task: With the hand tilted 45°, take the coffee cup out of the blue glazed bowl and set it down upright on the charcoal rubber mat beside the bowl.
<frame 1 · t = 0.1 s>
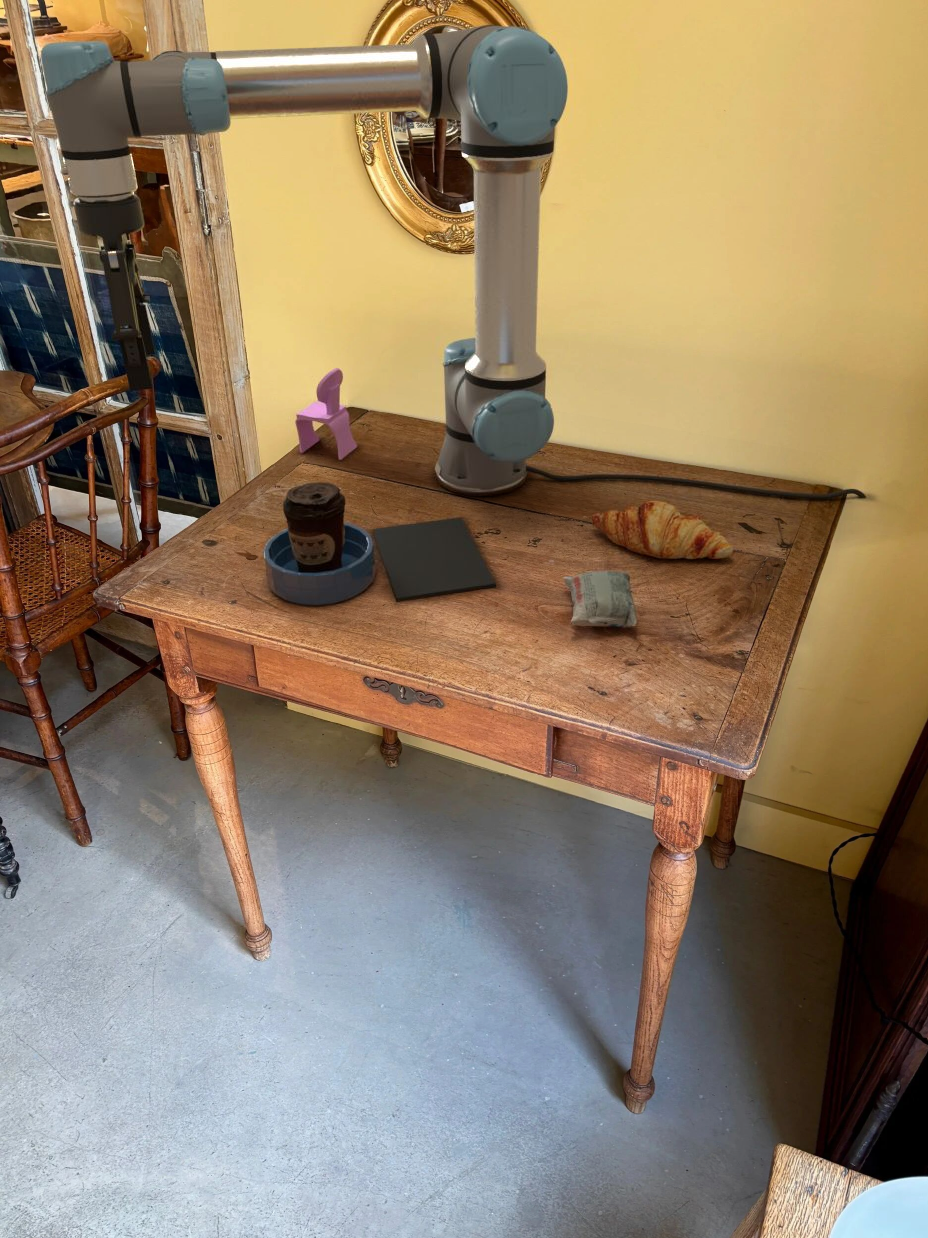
hand: (143, 371, 122), 28 cm above the table, tool pointing down, fingers open, 13 cm apart
packaged food: (596, 615, 124), on the table
coffee cup: (322, 576, 132), resting on bowl
toy chair: (327, 450, 169), on the table
bowl: (322, 577, 132), on the table
croissant: (658, 548, 138), on the table
mat: (431, 558, 136), on the table
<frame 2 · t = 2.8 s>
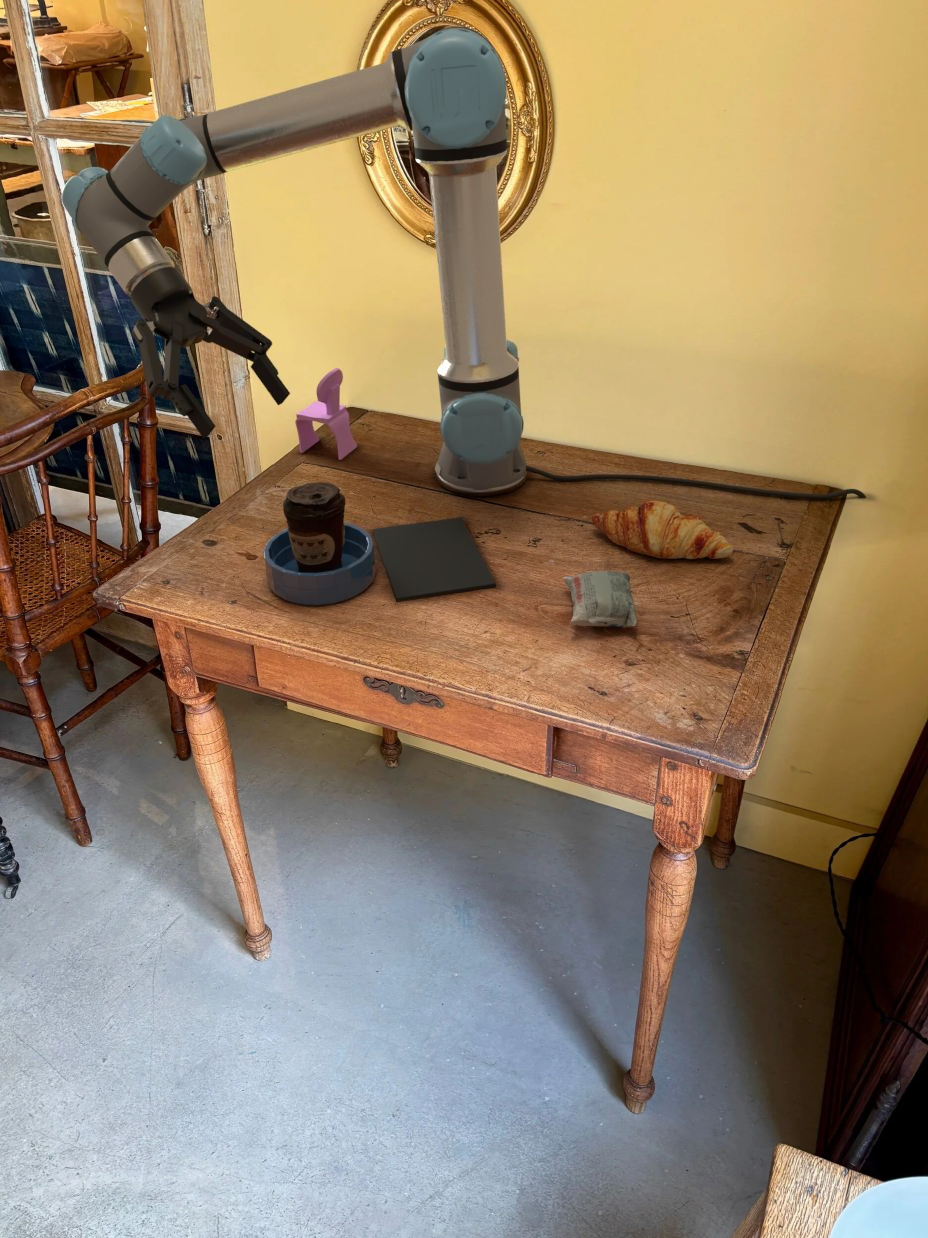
hand: (248, 415, 125), 22 cm above the table, tool tilted 45°, fingers open, 13 cm apart
nothing on the table moved.
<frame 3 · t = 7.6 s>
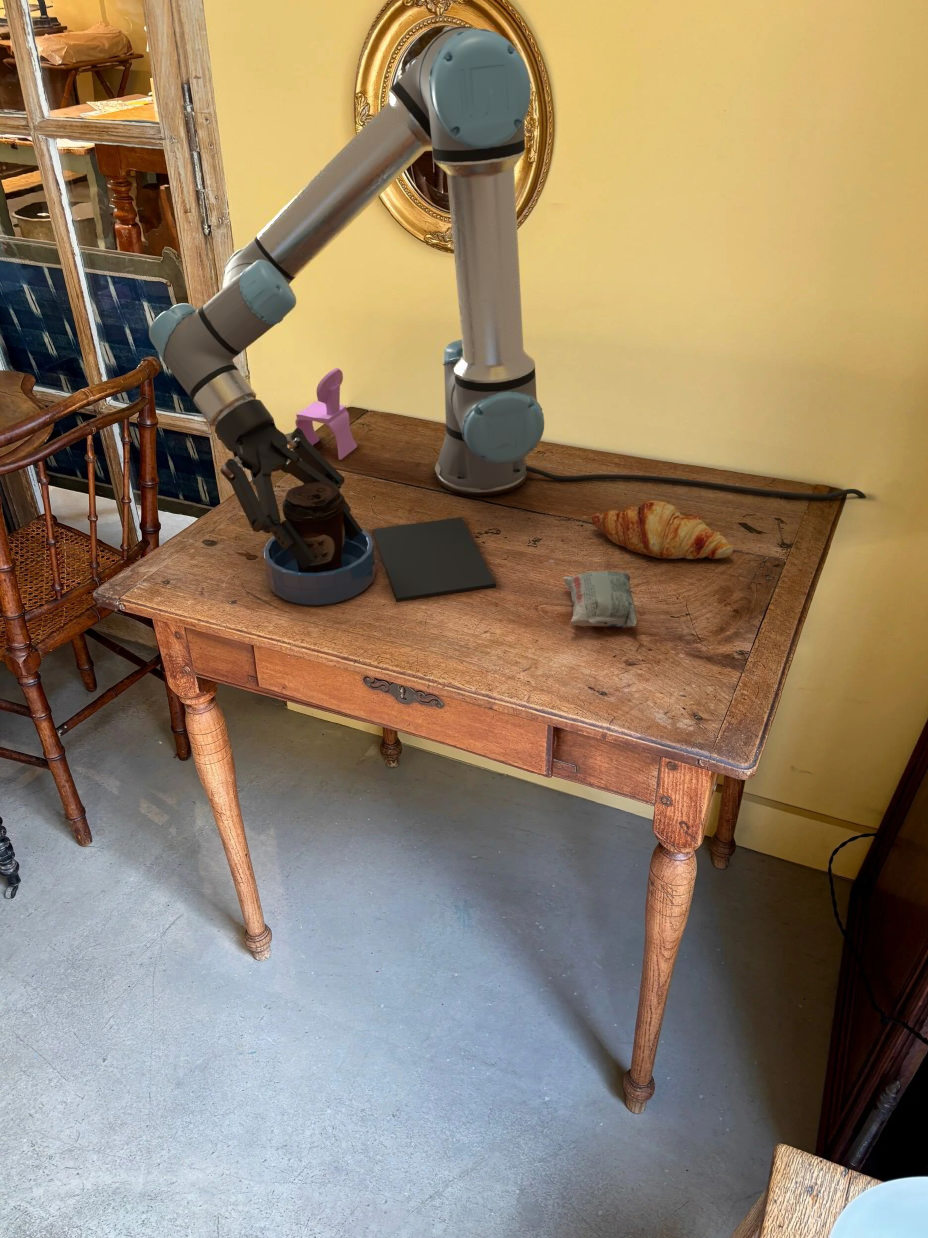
hand: (333, 549, 127), 6 cm above the table, tool tilted 45°, fingers closed on coffee cup, 9 cm apart
coffee cup: (322, 575, 132), resting on bowl, touching gripper
everything else where it was.
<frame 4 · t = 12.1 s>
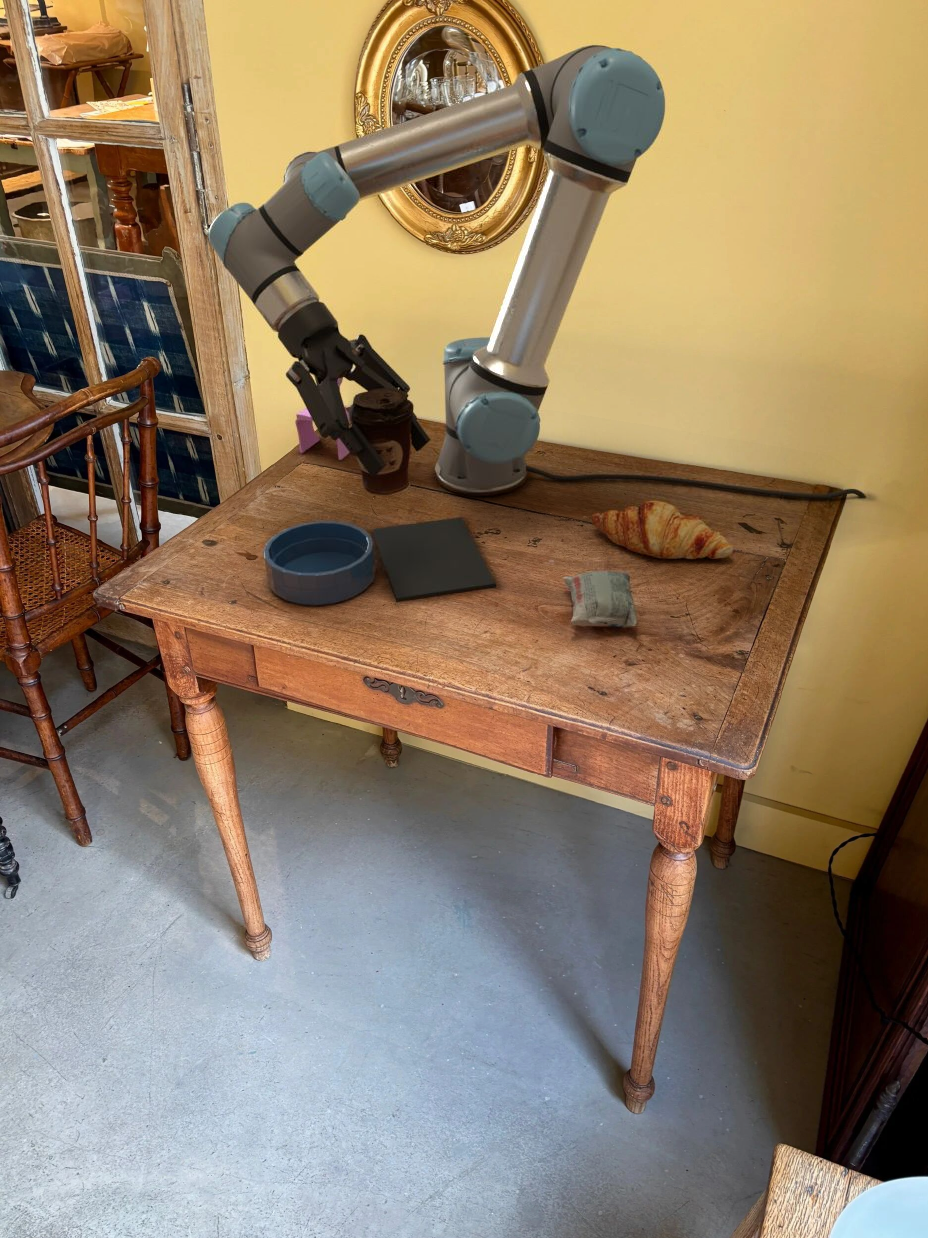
hand: (401, 458, 123), 18 cm above the table, tool tilted 45°, fingers closed on coffee cup, 9 cm apart
coffee cup: (387, 488, 128), point 12 cm above the table, touching gripper
everything else where it was.
when the fingers open (6 cm above the table, at t = 16.6 s): coffee cup stays where it is, resting on mat.
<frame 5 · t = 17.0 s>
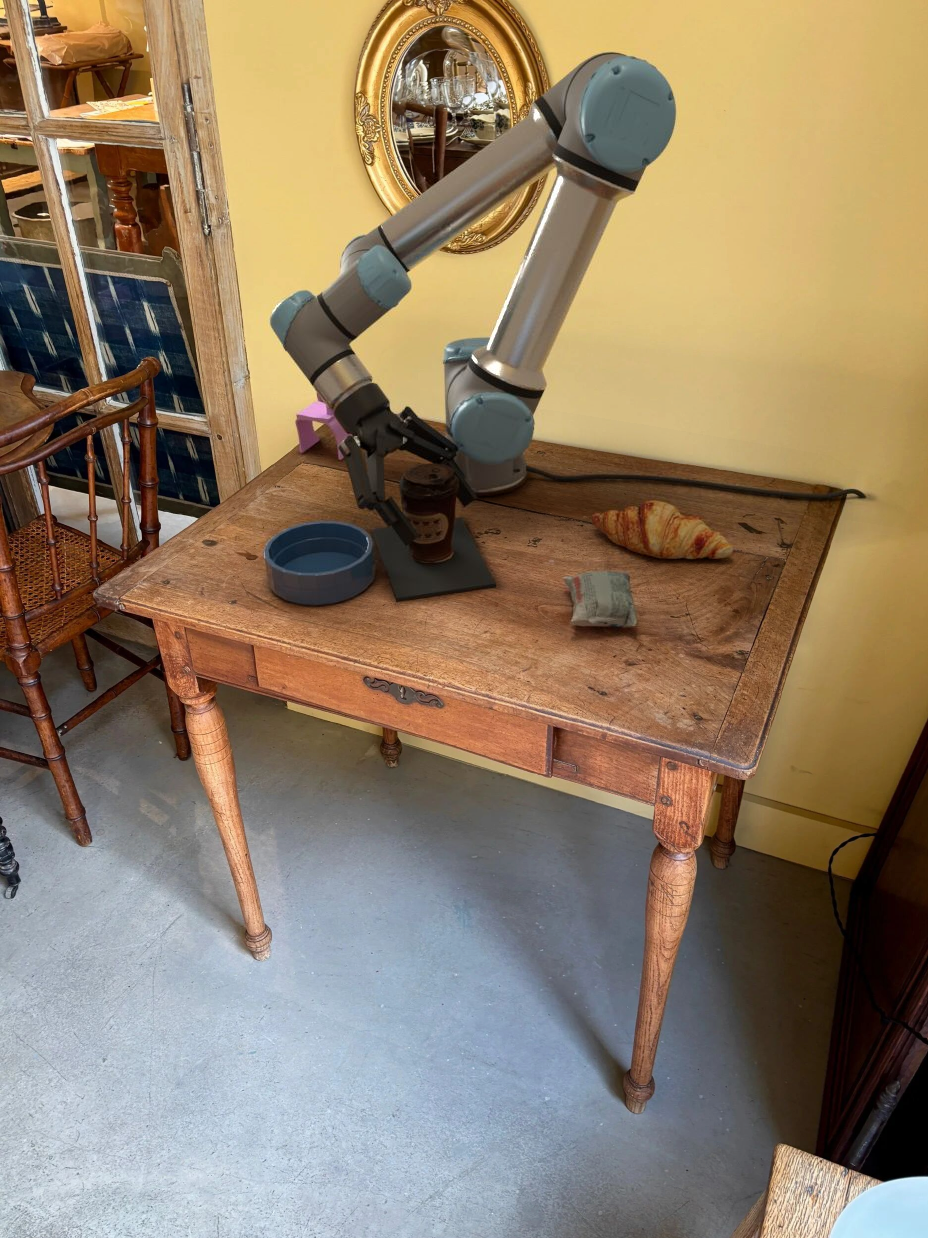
hand: (443, 521, 131), 7 cm above the table, tool tilted 45°, fingers open, 13 cm apart
coffee cup: (431, 555, 136), resting on mat
everything else where it was.
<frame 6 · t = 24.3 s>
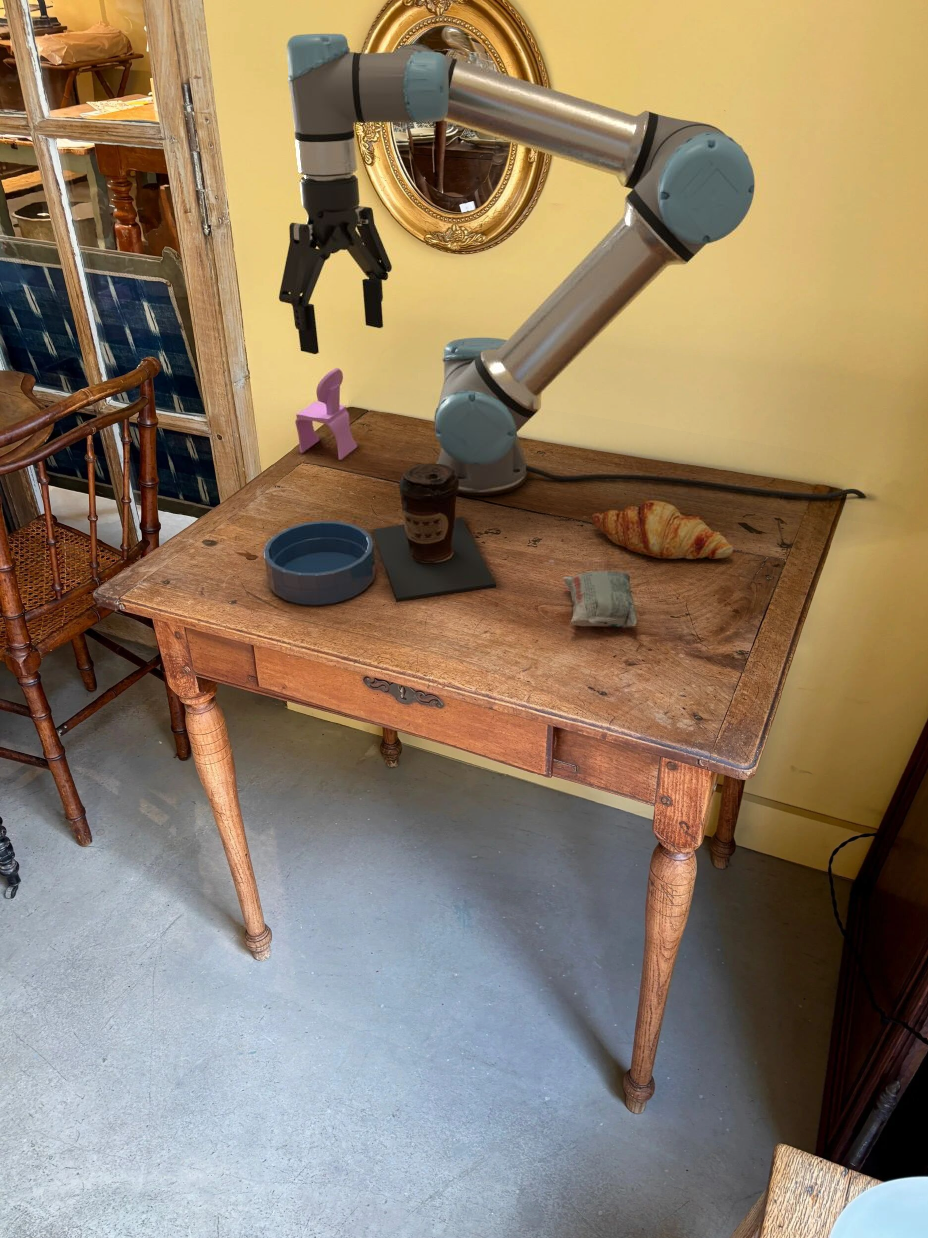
hand: (343, 338, 133), 28 cm above the table, tool pointing down, fingers open, 13 cm apart
nothing on the table moved.
at the end: coffee cup inside the target area on the mat (0.1 cm from its centre), point 0.4 cm above the mat's base; coffee cup tilted 0°; coffee cup touching mat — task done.
